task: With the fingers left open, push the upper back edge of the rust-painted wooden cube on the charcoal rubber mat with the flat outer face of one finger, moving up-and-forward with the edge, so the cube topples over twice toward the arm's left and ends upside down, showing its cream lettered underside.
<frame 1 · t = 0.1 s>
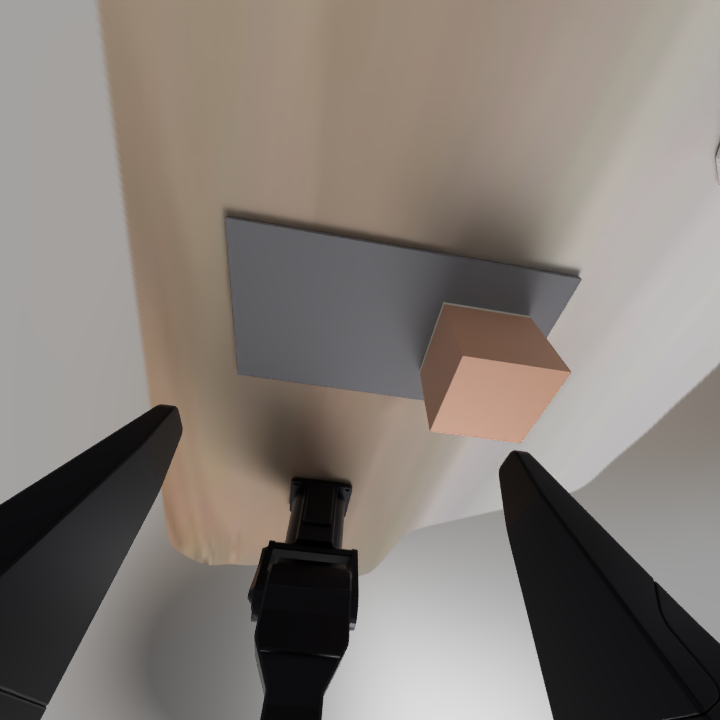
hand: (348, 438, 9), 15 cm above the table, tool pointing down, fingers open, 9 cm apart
cube: (470, 345, 24), resting on mat
mat: (389, 329, 24), on the table
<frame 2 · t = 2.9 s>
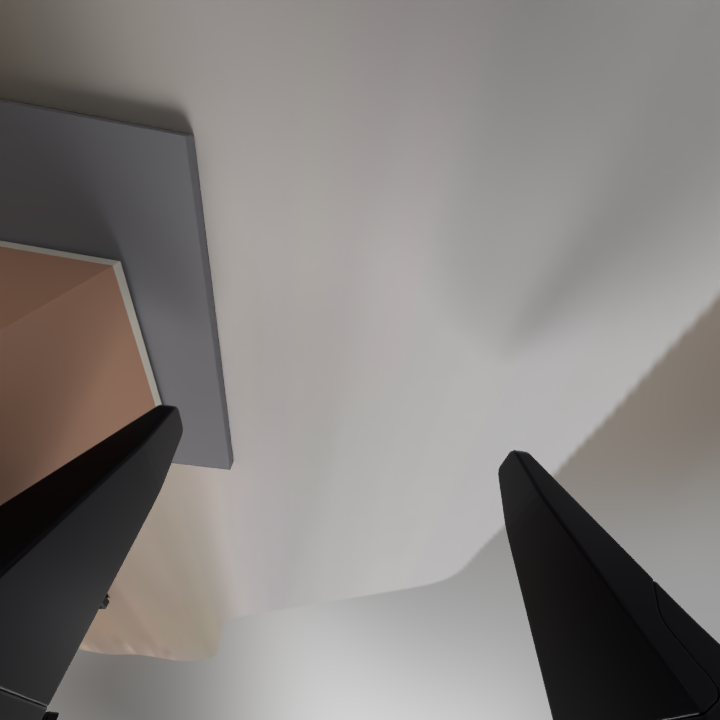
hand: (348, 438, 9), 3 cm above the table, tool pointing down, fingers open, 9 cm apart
cube: (47, 338, 10), resting on mat, touching gripper
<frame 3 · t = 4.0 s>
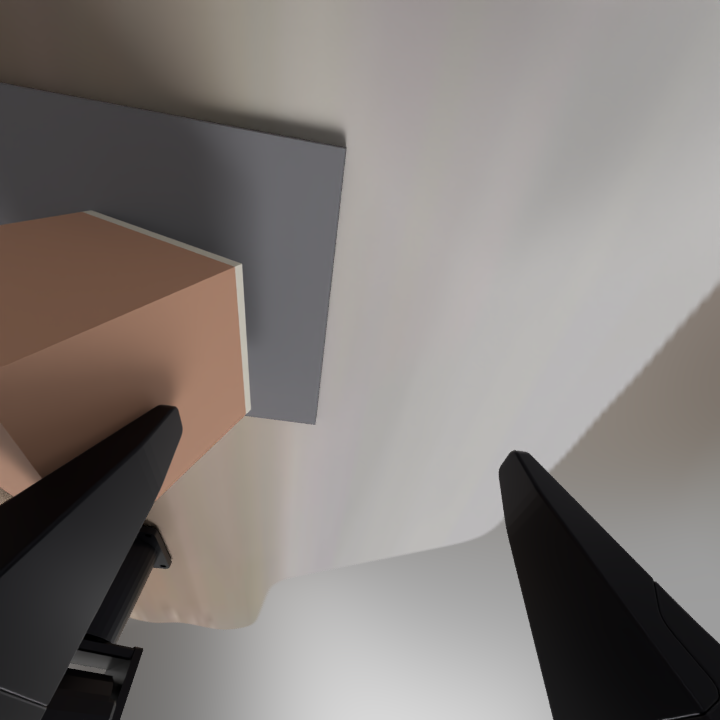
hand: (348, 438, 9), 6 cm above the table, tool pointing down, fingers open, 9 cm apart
cube: (178, 319, 12), point 2 cm above the table, tilted 22°, touching mat
mat: (42, 276, 13), on the table
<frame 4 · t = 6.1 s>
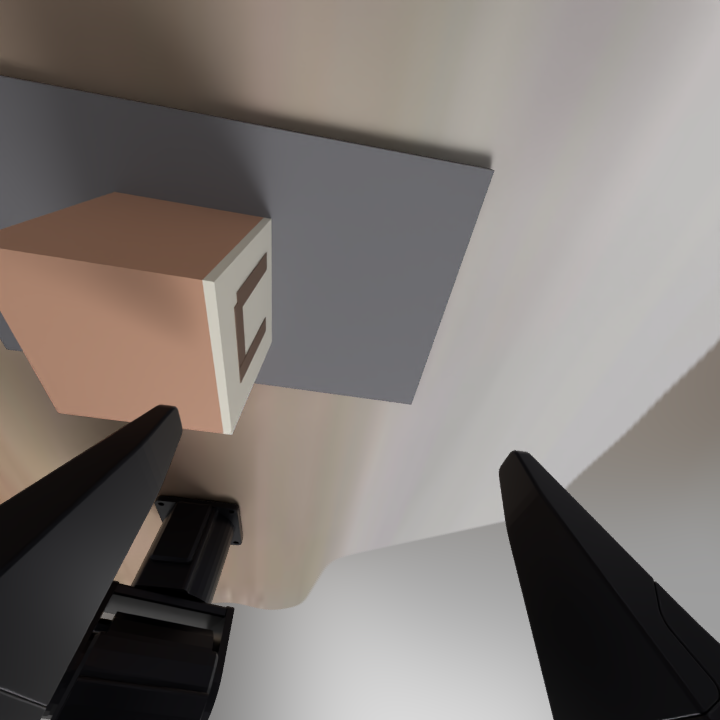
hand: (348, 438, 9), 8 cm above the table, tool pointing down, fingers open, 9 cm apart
cube: (252, 321, 13), point 3 cm above the table, tilted 90°, touching mat
mat: (207, 273, 15), on the table
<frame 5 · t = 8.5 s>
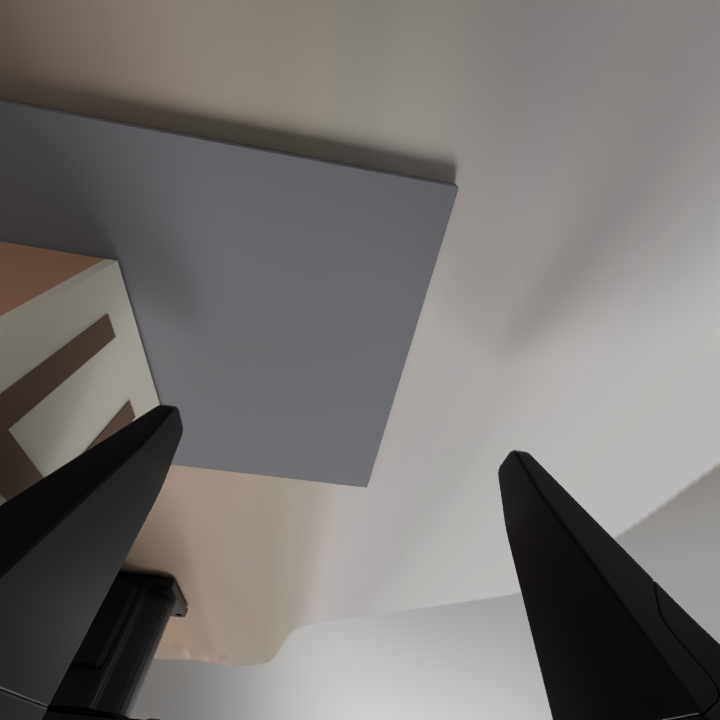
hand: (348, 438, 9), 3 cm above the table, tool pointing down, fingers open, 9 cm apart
cube: (73, 428, 8), point 4 cm above the table, tilted 91°, touching gripper, mat
mat: (55, 330, 11), on the table
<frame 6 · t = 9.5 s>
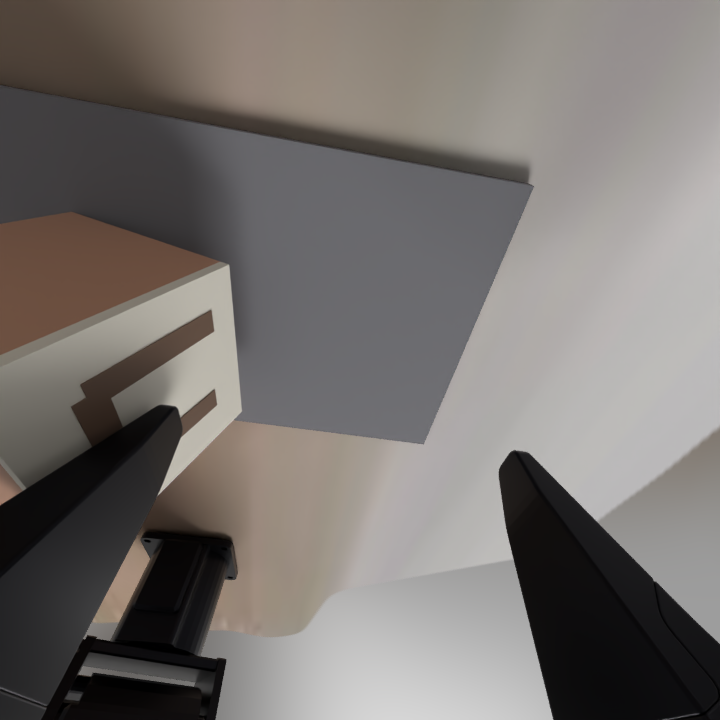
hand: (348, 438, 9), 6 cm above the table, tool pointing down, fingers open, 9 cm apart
cube: (163, 406, 9), point 5 cm above the table, tilted 110°, touching gripper, mat
mat: (188, 303, 13), on the table
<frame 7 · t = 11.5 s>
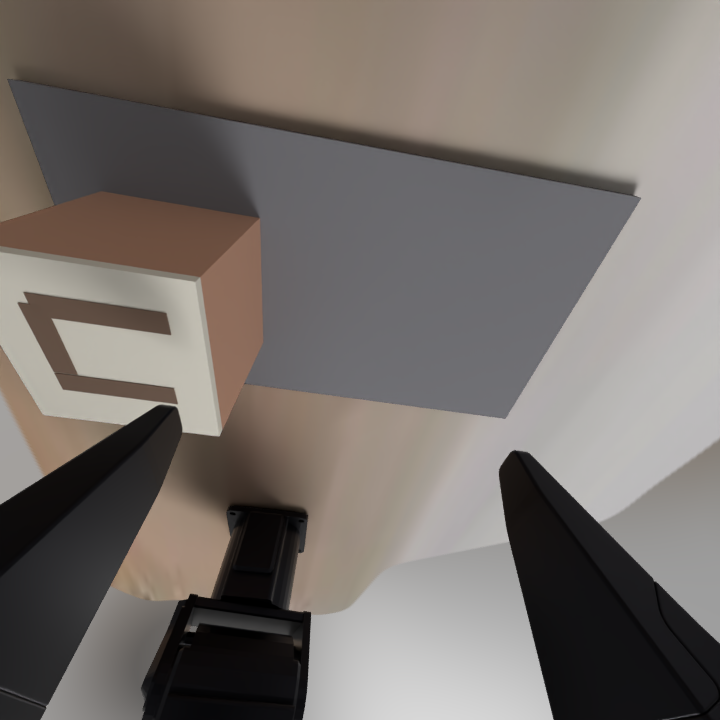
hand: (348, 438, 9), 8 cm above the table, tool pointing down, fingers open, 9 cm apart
cube: (106, 359, 10), point 6 cm above the table, tilted 180°, touching mat
mat: (329, 294, 15), on the table
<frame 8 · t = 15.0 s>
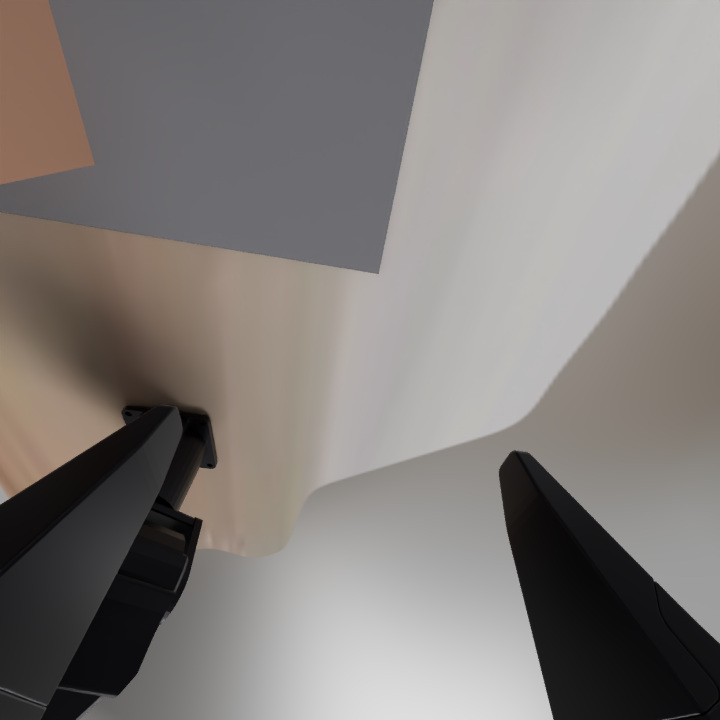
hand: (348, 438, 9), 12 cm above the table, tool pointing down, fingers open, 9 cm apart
mat: (151, 96, 14), on the table
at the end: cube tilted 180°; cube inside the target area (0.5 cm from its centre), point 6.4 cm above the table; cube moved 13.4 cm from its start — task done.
